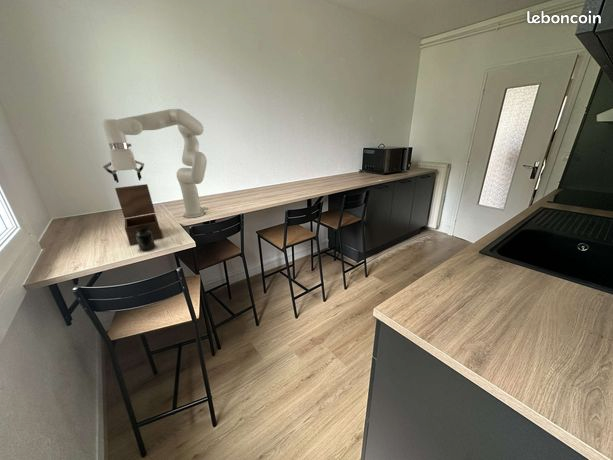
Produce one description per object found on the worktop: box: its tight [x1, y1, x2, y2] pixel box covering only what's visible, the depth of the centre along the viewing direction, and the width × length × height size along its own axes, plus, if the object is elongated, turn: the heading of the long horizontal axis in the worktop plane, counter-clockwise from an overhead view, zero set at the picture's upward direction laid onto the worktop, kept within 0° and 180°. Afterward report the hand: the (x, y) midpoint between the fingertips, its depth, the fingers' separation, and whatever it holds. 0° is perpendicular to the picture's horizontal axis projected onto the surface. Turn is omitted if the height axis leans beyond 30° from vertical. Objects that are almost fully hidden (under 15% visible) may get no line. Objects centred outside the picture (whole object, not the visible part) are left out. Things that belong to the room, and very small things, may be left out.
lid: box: [114, 183, 156, 219], centre depth 141 cm, size 17×15×5 cm
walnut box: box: [124, 213, 163, 246], centre depth 138 cm, size 16×15×10 cm
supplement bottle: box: [136, 225, 156, 252], centre depth 124 cm, size 7×7×12 cm
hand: (128, 181), depth 130 cm, fingers open, 9 cm apart
